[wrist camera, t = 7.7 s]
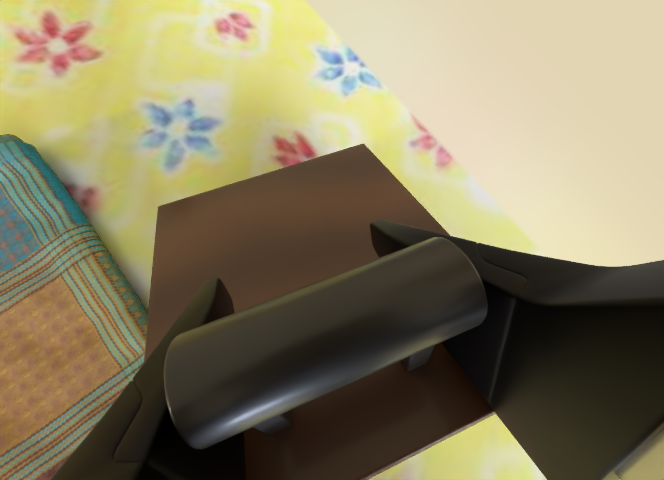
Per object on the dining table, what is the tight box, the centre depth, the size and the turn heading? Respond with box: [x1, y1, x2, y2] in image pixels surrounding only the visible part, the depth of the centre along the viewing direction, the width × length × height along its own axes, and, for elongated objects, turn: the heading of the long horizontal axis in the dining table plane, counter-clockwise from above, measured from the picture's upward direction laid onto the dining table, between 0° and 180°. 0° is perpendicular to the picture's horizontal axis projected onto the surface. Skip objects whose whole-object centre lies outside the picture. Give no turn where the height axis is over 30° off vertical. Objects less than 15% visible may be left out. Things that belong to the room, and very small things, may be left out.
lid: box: [144, 144, 496, 480], centre depth 9 cm, size 13×12×5 cm
